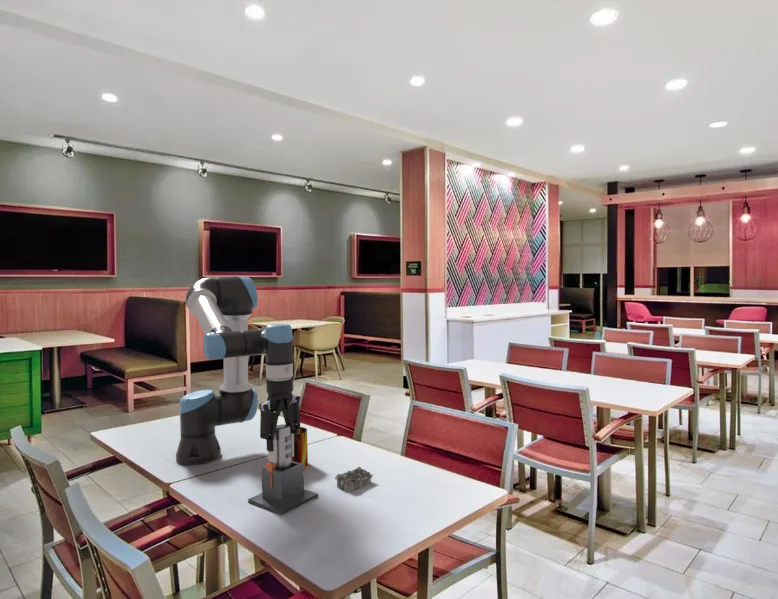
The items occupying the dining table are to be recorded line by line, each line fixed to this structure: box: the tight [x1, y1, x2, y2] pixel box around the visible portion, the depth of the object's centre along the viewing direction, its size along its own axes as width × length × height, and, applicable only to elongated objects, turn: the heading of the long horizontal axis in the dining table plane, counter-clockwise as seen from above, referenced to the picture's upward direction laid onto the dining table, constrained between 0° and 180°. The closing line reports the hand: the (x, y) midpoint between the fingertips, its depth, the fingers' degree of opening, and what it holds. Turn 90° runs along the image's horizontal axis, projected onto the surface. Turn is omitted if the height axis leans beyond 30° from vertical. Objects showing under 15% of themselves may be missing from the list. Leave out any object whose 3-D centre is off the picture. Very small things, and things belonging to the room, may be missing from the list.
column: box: [274, 423, 292, 471], centre depth 151 cm, size 6×6×20 cm
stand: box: [247, 461, 319, 516], centre depth 151 cm, size 14×14×12 cm
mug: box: [291, 426, 309, 469], centre depth 177 cm, size 10×14×12 cm
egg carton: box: [334, 466, 374, 492], centre depth 162 cm, size 11×8×4 cm
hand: (281, 458), depth 151 cm, fingers open, 6 cm apart
